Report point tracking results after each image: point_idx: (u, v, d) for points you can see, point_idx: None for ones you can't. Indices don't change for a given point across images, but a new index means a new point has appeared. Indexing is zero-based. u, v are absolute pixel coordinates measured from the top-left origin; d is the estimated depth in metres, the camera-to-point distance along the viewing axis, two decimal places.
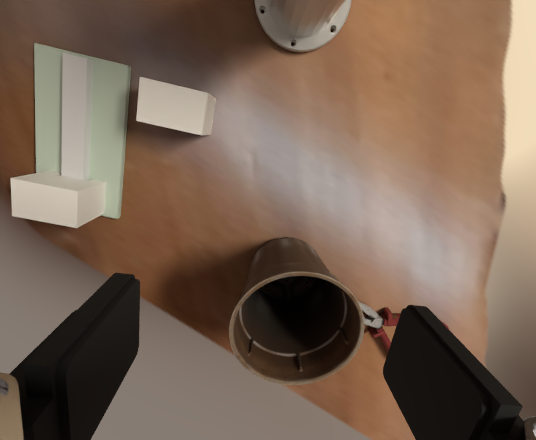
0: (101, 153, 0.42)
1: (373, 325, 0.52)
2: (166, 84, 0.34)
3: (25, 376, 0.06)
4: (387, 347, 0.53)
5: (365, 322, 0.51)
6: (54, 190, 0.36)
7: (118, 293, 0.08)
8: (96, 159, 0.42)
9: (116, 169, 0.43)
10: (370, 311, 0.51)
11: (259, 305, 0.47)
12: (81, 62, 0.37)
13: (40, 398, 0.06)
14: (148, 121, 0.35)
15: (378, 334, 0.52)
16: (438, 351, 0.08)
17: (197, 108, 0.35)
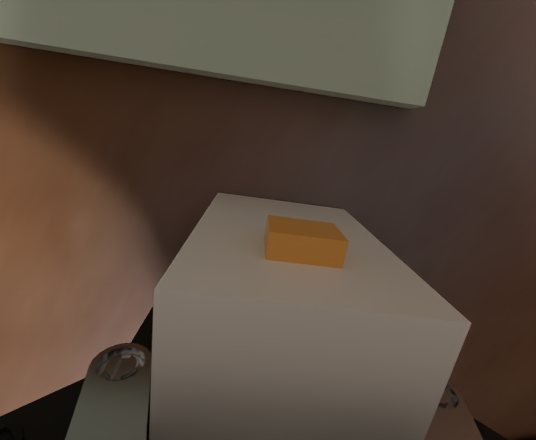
0: None
1: None
2: None
3: (151, 346, 0.07)
4: None
5: None
6: None
7: None
8: None
9: None
10: None
11: None
12: None
13: None
14: (166, 369, 0.05)
15: None
16: None
17: None
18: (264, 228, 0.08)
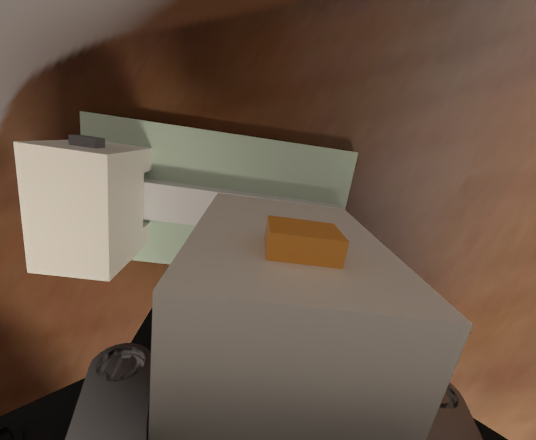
0: None
1: None
2: None
3: None
4: None
5: None
6: (99, 239, 0.17)
7: None
8: (185, 229, 0.25)
9: None
10: None
11: None
12: None
13: None
14: (165, 370, 0.05)
15: None
16: None
17: None
18: (264, 228, 0.08)
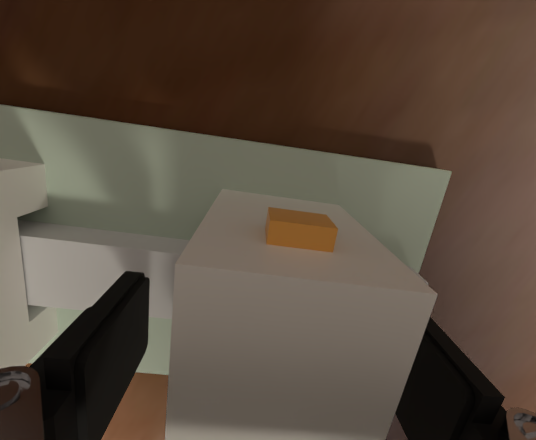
0: None
1: None
2: (387, 415, 0.06)
3: (45, 369, 0.06)
4: None
5: None
6: None
7: (130, 290, 0.08)
8: None
9: None
10: None
11: None
12: None
13: (59, 391, 0.06)
14: (183, 332, 0.06)
15: None
16: (426, 345, 0.08)
17: None
18: (265, 219, 0.09)
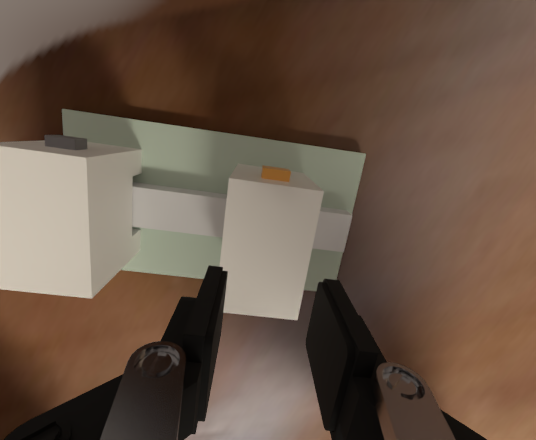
0: (191, 245, 0.23)
1: None
2: (309, 245, 0.16)
3: (184, 344, 0.07)
4: None
5: None
6: (79, 252, 0.16)
7: (220, 282, 0.10)
8: (179, 236, 0.23)
9: (166, 268, 0.24)
10: None
11: None
12: (337, 243, 0.22)
13: (193, 362, 0.07)
14: (230, 205, 0.15)
15: None
16: (332, 314, 0.09)
17: (266, 302, 0.17)
18: (261, 173, 0.18)
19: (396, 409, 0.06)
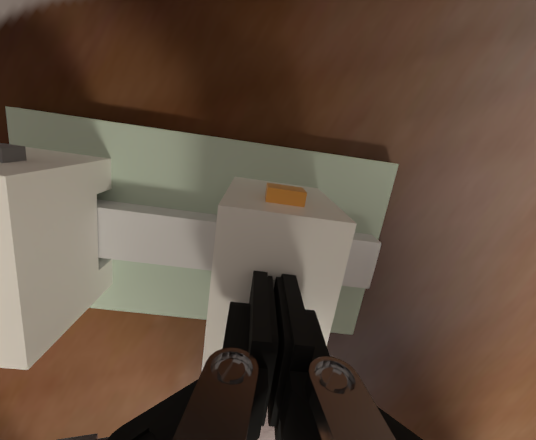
0: (176, 278, 0.19)
1: None
2: (334, 298, 0.11)
3: (251, 350, 0.07)
4: None
5: None
6: (6, 308, 0.11)
7: (268, 287, 0.10)
8: (161, 267, 0.18)
9: (146, 305, 0.19)
10: None
11: None
12: (361, 277, 0.17)
13: (260, 368, 0.07)
14: (220, 244, 0.10)
15: None
16: (280, 308, 0.09)
17: None
18: (265, 192, 0.13)
19: (332, 409, 0.06)
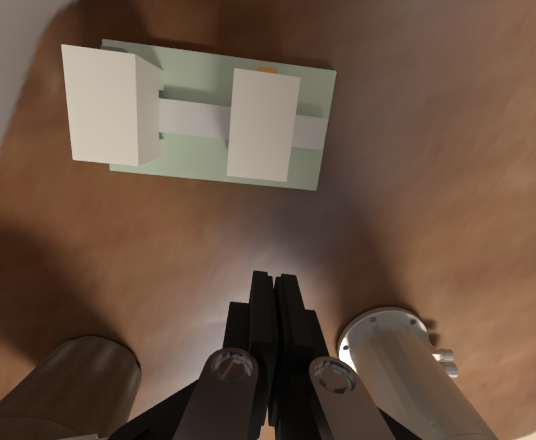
0: (203, 152, 0.30)
1: None
2: (292, 120, 0.23)
3: (251, 350, 0.07)
4: None
5: None
6: (130, 128, 0.22)
7: (268, 287, 0.10)
8: (194, 144, 0.29)
9: (185, 171, 0.30)
10: None
11: None
12: (317, 142, 0.29)
13: (260, 368, 0.07)
14: (235, 89, 0.22)
15: None
16: (280, 308, 0.09)
17: (263, 167, 0.24)
18: None
19: (332, 409, 0.06)
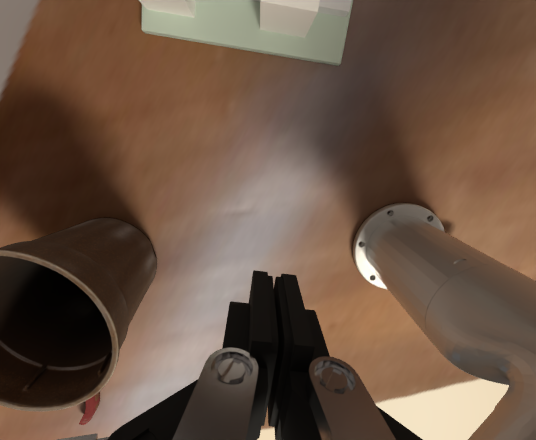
0: (233, 14, 0.31)
1: None
2: None
3: (251, 350, 0.07)
4: None
5: None
6: None
7: (268, 287, 0.10)
8: (224, 6, 0.30)
9: (213, 35, 0.31)
10: None
11: None
12: (344, 3, 0.29)
13: (260, 368, 0.07)
14: None
15: None
16: (280, 308, 0.09)
17: None
18: None
19: (332, 409, 0.06)
